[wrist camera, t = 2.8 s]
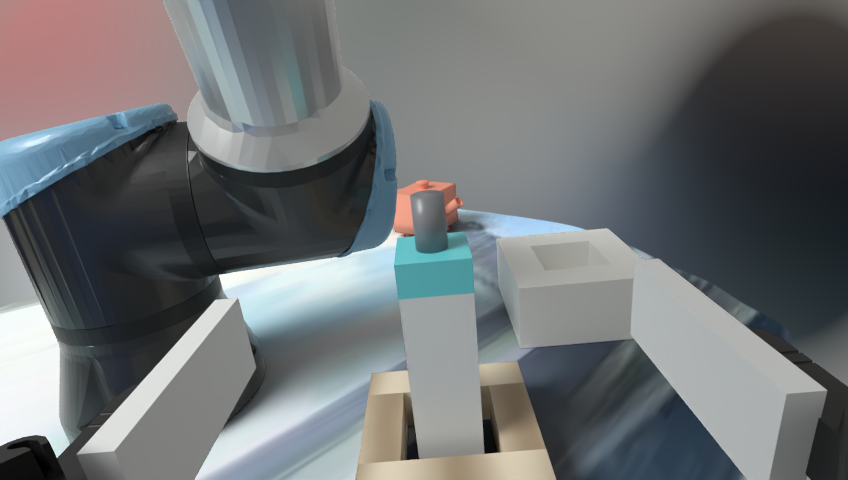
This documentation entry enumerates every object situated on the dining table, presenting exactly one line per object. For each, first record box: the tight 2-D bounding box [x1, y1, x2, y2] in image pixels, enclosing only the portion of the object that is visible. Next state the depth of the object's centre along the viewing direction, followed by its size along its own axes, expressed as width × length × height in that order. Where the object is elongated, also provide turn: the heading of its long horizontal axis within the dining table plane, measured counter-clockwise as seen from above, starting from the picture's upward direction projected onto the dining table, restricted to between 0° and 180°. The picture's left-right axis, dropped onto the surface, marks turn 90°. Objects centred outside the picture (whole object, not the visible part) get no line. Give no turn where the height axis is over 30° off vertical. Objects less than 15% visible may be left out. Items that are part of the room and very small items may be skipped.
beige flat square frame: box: [356, 361, 556, 480], centre depth 30 cm, size 11×11×3 cm
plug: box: [394, 190, 484, 459], centre depth 28 cm, size 4×4×18 cm
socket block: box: [497, 228, 643, 349], centre depth 46 cm, size 12×12×6 cm
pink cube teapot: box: [394, 180, 463, 237], centre depth 71 cm, size 8×12×8 cm, turn 56°
